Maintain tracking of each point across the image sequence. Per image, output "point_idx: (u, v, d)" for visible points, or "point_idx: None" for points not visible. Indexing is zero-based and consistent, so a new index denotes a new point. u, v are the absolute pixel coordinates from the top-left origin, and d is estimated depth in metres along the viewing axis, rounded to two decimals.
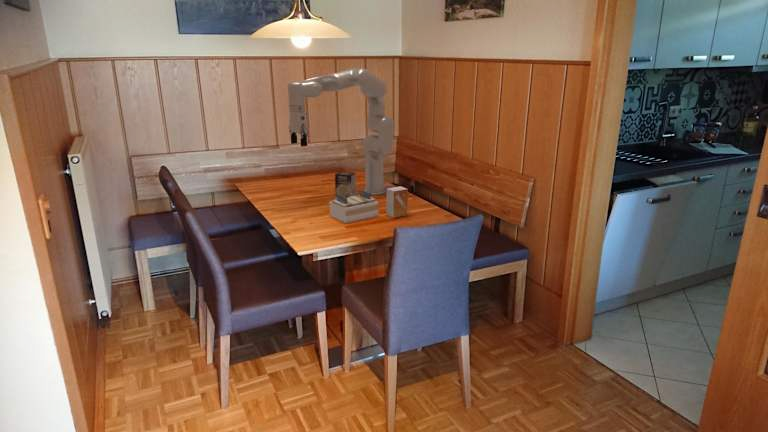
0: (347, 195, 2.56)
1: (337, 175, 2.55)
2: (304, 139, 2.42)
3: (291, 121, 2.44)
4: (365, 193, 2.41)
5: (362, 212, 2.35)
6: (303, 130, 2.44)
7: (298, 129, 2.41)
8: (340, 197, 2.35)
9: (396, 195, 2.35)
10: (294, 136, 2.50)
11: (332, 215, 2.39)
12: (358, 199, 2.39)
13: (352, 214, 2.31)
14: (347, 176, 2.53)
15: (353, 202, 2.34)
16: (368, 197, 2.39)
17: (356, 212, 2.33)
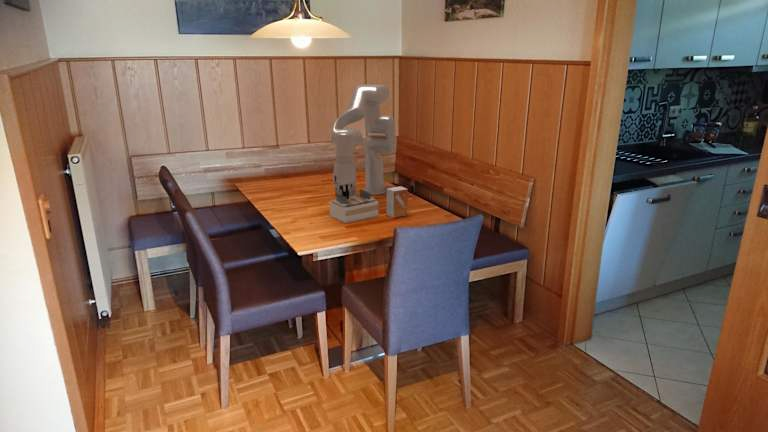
0: None
1: None
2: None
3: (344, 173, 2.29)
4: (365, 193, 2.41)
5: (362, 212, 2.35)
6: None
7: (355, 178, 2.34)
8: (340, 197, 2.34)
9: (396, 195, 2.35)
10: None
11: (332, 215, 2.39)
12: (358, 199, 2.39)
13: (352, 214, 2.31)
14: None
15: (353, 202, 2.34)
16: (368, 197, 2.39)
17: (356, 212, 2.33)
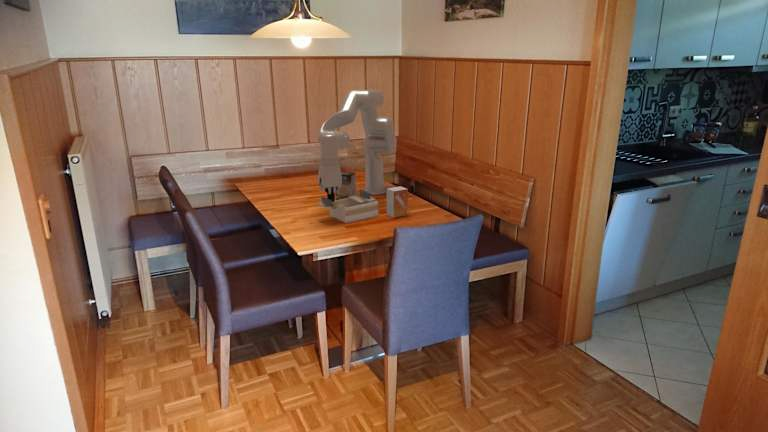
0: (347, 195, 2.56)
1: None
2: None
3: (329, 176, 2.25)
4: (365, 193, 2.41)
5: (362, 212, 2.35)
6: None
7: (340, 181, 2.29)
8: (325, 200, 2.30)
9: (396, 195, 2.35)
10: None
11: (332, 215, 2.39)
12: (358, 199, 2.39)
13: (352, 214, 2.31)
14: (347, 176, 2.53)
15: (338, 205, 2.30)
16: (368, 197, 2.39)
17: (356, 212, 2.33)
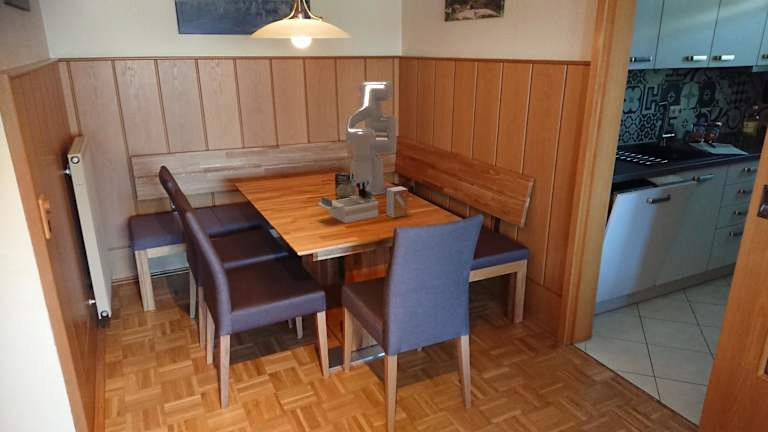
0: (347, 195, 2.56)
1: (337, 175, 2.55)
2: None
3: (361, 171, 2.35)
4: (366, 193, 2.41)
5: (362, 212, 2.35)
6: None
7: (371, 176, 2.39)
8: (325, 200, 2.30)
9: (396, 195, 2.35)
10: None
11: (332, 215, 2.39)
12: (359, 199, 2.39)
13: (352, 214, 2.31)
14: (347, 176, 2.53)
15: (338, 205, 2.30)
16: (369, 197, 2.40)
17: (356, 212, 2.33)
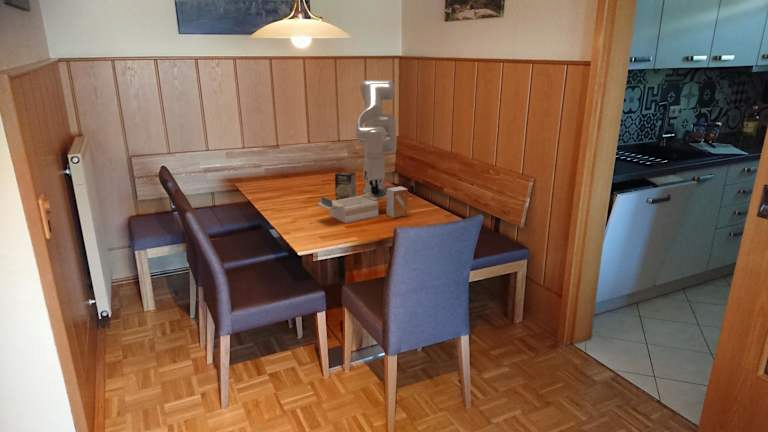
0: (347, 195, 2.56)
1: (337, 175, 2.55)
2: None
3: (374, 169, 2.39)
4: (379, 190, 2.45)
5: (362, 212, 2.35)
6: None
7: (384, 174, 2.43)
8: (325, 200, 2.30)
9: (396, 195, 2.35)
10: None
11: (332, 215, 2.39)
12: (372, 196, 2.43)
13: (352, 214, 2.31)
14: (347, 176, 2.53)
15: (338, 205, 2.30)
16: (382, 194, 2.44)
17: (356, 212, 2.33)
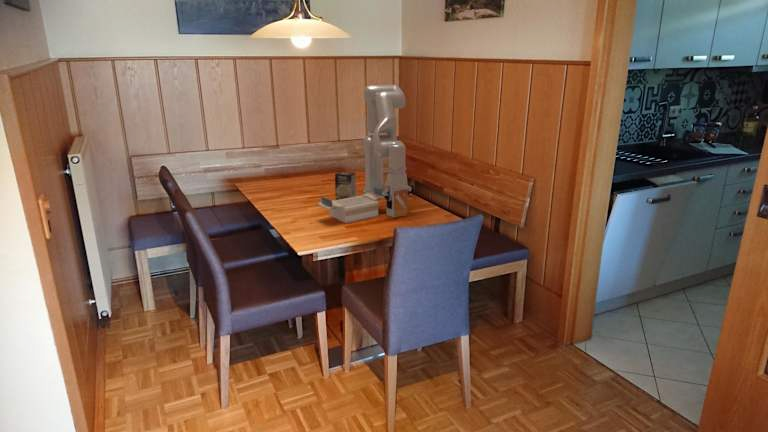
0: (347, 195, 2.56)
1: (337, 175, 2.55)
2: None
3: (397, 184, 2.35)
4: (379, 190, 2.45)
5: (362, 212, 2.35)
6: None
7: None
8: (325, 200, 2.30)
9: (396, 195, 2.35)
10: None
11: (332, 215, 2.39)
12: (372, 196, 2.44)
13: (352, 214, 2.31)
14: (347, 176, 2.53)
15: (338, 205, 2.30)
16: None
17: (356, 212, 2.33)
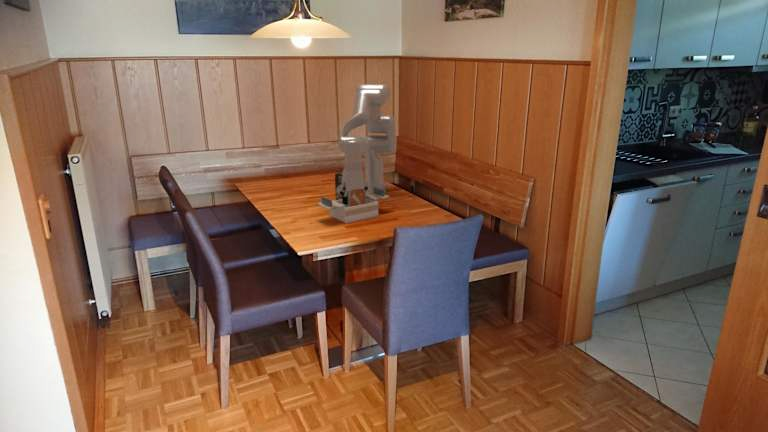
0: None
1: (337, 175, 2.55)
2: None
3: (352, 180, 2.33)
4: (379, 190, 2.45)
5: (362, 212, 2.35)
6: None
7: (363, 185, 2.37)
8: (325, 200, 2.30)
9: (352, 194, 2.34)
10: None
11: (332, 215, 2.39)
12: (372, 196, 2.44)
13: (352, 214, 2.31)
14: None
15: (338, 205, 2.30)
16: (382, 194, 2.44)
17: (356, 212, 2.33)
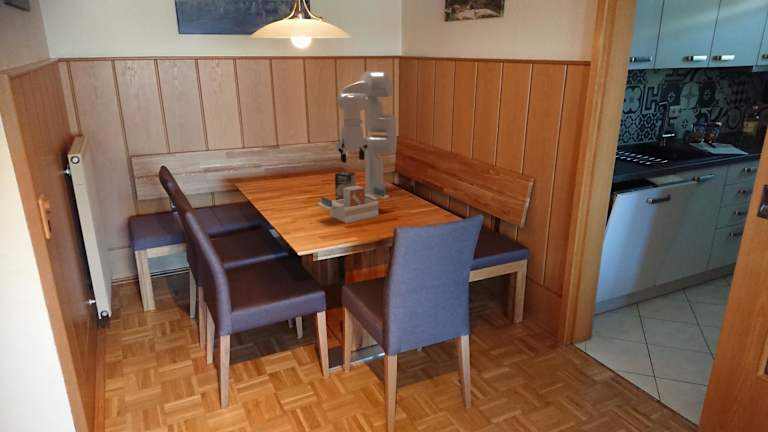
0: None
1: (337, 175, 2.55)
2: None
3: (351, 137, 2.27)
4: (379, 190, 2.45)
5: (362, 212, 2.35)
6: None
7: (362, 143, 2.32)
8: (325, 200, 2.30)
9: (352, 194, 2.34)
10: None
11: (332, 215, 2.39)
12: (372, 196, 2.44)
13: (352, 214, 2.31)
14: (347, 176, 2.53)
15: (338, 205, 2.30)
16: (382, 194, 2.44)
17: (356, 212, 2.33)
